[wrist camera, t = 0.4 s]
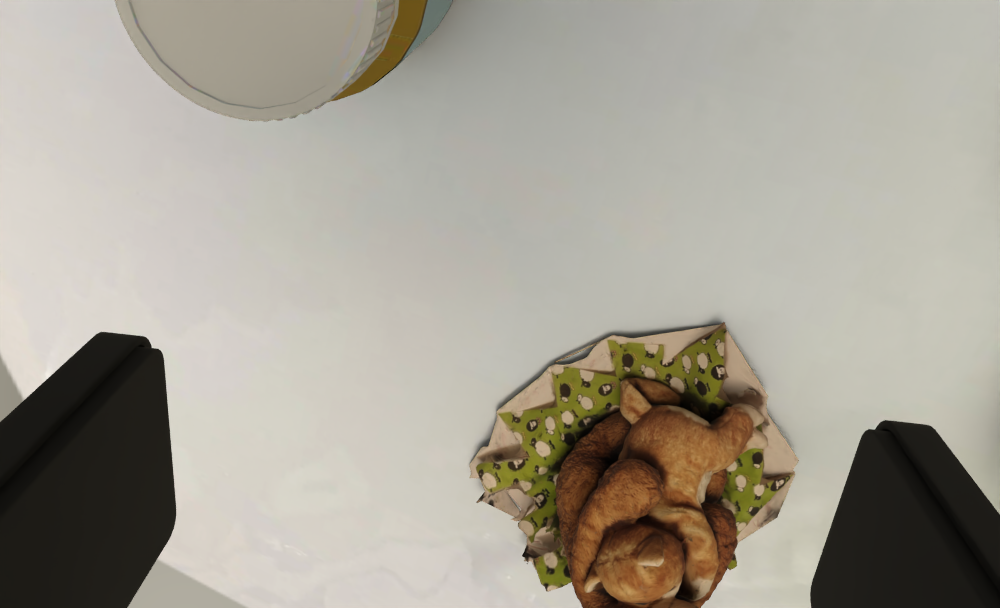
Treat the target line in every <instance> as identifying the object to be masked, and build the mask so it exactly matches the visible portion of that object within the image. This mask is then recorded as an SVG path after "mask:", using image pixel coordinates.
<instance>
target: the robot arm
mask: <svg viewBox="0 0 1000 608" xmlns="http://www.w3.org/2000/svg"><path fill="white" fill-rule="evenodd" d="M175 520H176V501H175V489H174V477H173V464H172V452H171V440H170V428H169V416H168V404H167V392H166V379H165V367H164V358H163V354H162V352H161V351H160V350H159V349H154V348H151V344H150V342H149V340H148V339H147V338H146V337H144V336H135V335H126V334H117V333H108V332H100V333H98V334H96V335H95V336H94V337H93V338H92V339H91V340H90V341H88V342H87V343H86V344H85V345H84V346H83V347H82V348H81V349H80V350H79V351H78V352H76V353H75V354H74V355H73V356H72V357H71V358H70V359H69V360H68V361H67V362H66V363H64V364H63V365H62V366H61V367H60V368H59V369H58V370H57V371H56V372H55V373H54V374H52V375H51V376H50V377H49V378H48V379H47V380H46V381H45V382H44V383H43V384H41V385H40V386H39V387H38V388H37V389H36V390H35V391H34V392H33V393H32V394H31V395H29V396H28V397H27V398H26V399H25V400H24V401H23V402H22V403H21V404H20V405H19V406H17V408H15V409H14V410H13V411H12V412H11V413H10V414H9V415H8V416H7V417H6V418H4V419H3V420H2V421H1V422H0V608H127V607H128V606H129V604H130V602H131V601H132V599H133V597H134V596H135V594H136V592H137V590H138V589H139V588H140V586H141V584H142V583H143V581H144V579H145V578H146V576H147V574H148V573H149V571H150V570H151V568H152V566H153V565H154V563H155V562H156V560H157V558H158V557H159V555H160V553H161V552H162V550H163V548H164V547H165V545H166V544H167V542H168V540H169V538H170V536H171V534H172V531H173V529H174V525H175ZM810 597H811V608H1000V514H999V513H998V512H997V510H996V509H995V508H994V507H993V505H992V504H991V503H990V501H989V500H988V499H987V497H986V496H985V495H984V493H983V492H982V491H981V489H980V488H979V487H978V486H977V484H976V483H975V482H974V480H973V479H972V478H971V476H970V475H969V474H968V472H967V471H966V470H965V468H964V467H963V466H962V464H961V463H960V462H959V461H958V459H957V458H956V457H955V455H954V454H953V453H952V451H951V450H950V449H949V447H948V446H947V445H946V443H945V442H944V441H943V439H942V438H941V437H940V436H939V434H938V433H937V432H936V430H935V429H934V428H932V427H931V426H929V425H923V424H914V423H906V422H897V421H888V420H885V421H882V422H881V423H880V424H879V425H878V426H877V427H876V429H875V430H871V429H869V430H866V431H865V432H864V434H863V435H862V437H861V440H860V442H859V445H858V448H857V451H856V454H855V457H854V460H853V463H852V466H851V469H850V472H849V475H848V478H847V481H846V484H845V487H844V490H843V493H842V495H841V498H840V501H839V504H838V507H837V510H836V513H835V516H834V519H833V522H832V525H831V528H830V531H829V534H828V537H827V540H826V543H825V546H824V549H823V552H822V555H821V557H820V560H819V563H818V566H817V569H816V572H815V575H814V578H813V581H812V585H811V593H810Z"/></svg>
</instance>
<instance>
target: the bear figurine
mask: <svg viewBox="0 0 1000 608" xmlns="http://www.w3.org/2000/svg"><path fill="white" fill-rule="evenodd" d="M598 343H599V344H598ZM596 344H598V345H596ZM594 345H596V346H595V347H594V348H593V350H592V351H591V352H590V354H589V355H588V356H587V358H584V359H582V360H579V361H577V362H574V363H572V364H566V365H561V364H560V365H557V364H554V365H552V366H549V367H548V369H547V370H546V371H545V372H544V373H543V374H542V375H541V376H540V377H539V378H538V379H537V380H535V381H534V382H533V383H531V384H530V385H529V386H528V387H526V388H525V389H524V390H523V391H521V392H520V393H519V394H518V395H516V396H515V397H514V398H513V399H511V400H510V401H509V402H508V403H506V404H505V405H504V406H502V407H501V408H500V409H499V410H498V411H497V413H496V414H497V420H496V423H495V427H494V430H493V433H492V436H491V439H490V442H489V445H488V446H487V447H482V448H481V449H480V450H479V452H478V453H477V455H476V456H475V458H474V459H473V461H472V462H471V463H470V465H469V466H470V469H471V476H470V477H469V478H480V480H481V482H482V485H483V487H484V489H485V492H484V493H483V495H482V496H481V497H480V498H479V500H478V501H477V503H478V502H480V501H483V502H485V503H487V504H489V505H492V506H494V507H496V508H498V509H500V510H502V511H504V512H506V513H508V514H510V515H512V516H514V517H515V518H513V519H511V520H514V521H520V520H521V521H520V522H519V523H518V527H519V528H520V529H521V530H522V531H523V532H524V533H525V534H526V535H527V545H526V549H525V551H524V553H523V555H522V556H523V557H525V560H524V561H527V562H529V561H532V563H533V566H534V568H535V569H536V570H537V573H538V576H539V579H540V582H541V584H542V585H543V586H544V587H545V588H546V591H547V592H549V591H551V590H553V589H557V588H560V587H563V586H565V585H567V584H568V583H571V582H572V584H573V586H574V589H575V593H576V595H577V598H578V599H579V600H580V602H581V604H582V607H583V608H701V606H702V605H703V604H704V603H705V601H707V600H709V598H710V597H711V595H712V593H713V591H714V590H715V589H716V587H717V584H718V583H719V582H720V581H721V580H722V577H723V575H724V573H725V571H726V570H727V568H728V569H729V570H731V569H733V568H735V567H736V566H737V561H736V557H735V553H734V552H735V549H736V547H737V544H738V542H740V541H741V540H743V539H744V538H746V537H747V536H749V535H751V534H752V533H754V532H755V531H757V530H758V529H760V528H761V527H763V526H764V525H766V524H768V523H769V522H771V521H772V520H774V519H775V518H777V516H778V514H779V512H780V509H781V507H782V504H783V502H784V500H785V497H786V495H787V493H788V490H789V488H790V485H791V483H792V481H793V478H794V476H795V472H794V471H793V469H794V467H795V466H796V464H797V463H798V461H799V460H798V458H797V457H796V455H795V454H794V452H793V451H792V449H791V448H790V446H789V445H788V443H787V442H786V440H785V438H784V437H783V436H782V434H781V433H780V432H779V430H778V428H777V427H776V425H775V424H774V422H773V421H772V419H771V418H770V416H769V415H768V413H767V408H766V405H767V398H768V395H767V394H766V392H765V390H764V389H763V387H762V386H761V384H760V382H759V381H758V379H757V377H756V376H755V374H754V373H753V371H752V369H751V368H750V366H749V365H748V363H747V361H746V360H745V358H744V357H743V355H742V353H741V352H740V350H739V349H738V347H737V345H736V344H735V342H734V341H733V339H732V337H731V336H730V334H729V333H728V331H727V329H726V325H725V322H723V323H722V324H720V325H714V326H708V327H702V328H696V329H689V330H683V331H676V332H670V333H664V334H657V335H651V336H645V337H638V338H627V337H622V336H617V335H612V336H610V337H608V338H605V339H603V340H601V341H599V342H597V343H594V344H592V345H590V346H588V347H586V348H584V349H581V350H579V351H577V352H575V353H573V354H570V355H568V356H566V357H564V358H562V359H559V360H557V361H555V363H557V362H559V361H561V360H563V359H565V358H568V357H570V356H572V355H574V354H576V353H578V352H581V351H583V350H585V349H587V348H589V347H591V346H594ZM506 492H507V493H508V494H509V495H510V496H511V498H512V499H513V500H514V501H515V502H516V503H517V505H518V506H519V507H520V508H521V511H519V510H518V508H517V507H516V505H515V504H514V503H513V501H512V500H511V498H510V497H509V495H508V494H507V493H506ZM526 515H527V516H526ZM527 564H528V563H527Z"/></svg>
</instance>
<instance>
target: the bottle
mask: <svg viewBox="0 0 1000 608" xmlns="http://www.w3.org/2000/svg"><path fill="white" fill-rule="evenodd" d="M452 1H453V0H115V3H116V6H117V9H118V12H119V15H120V17H121V20H122V22H123V24H124V27H125V29H126V31H127V33H128V35H129V36H130V38H131V40H132V42H133V43H134V45H135V47H136V48H137V50H138V51H139V53H140V54H141V55H142V57H143V58H144V59H145V61H146V62H147V63H148V64H149V66H150V67H151V68H152V69H153V70H154V71H155V72H156V73H157V74H158V75H159V76H160V77H161V78H162V79H163V80H164V81H165V82H166V83H167V84H168V85H169V86H171V87H172V88H173V89H174V90H176V91H177V92H178V93H180V94H181V95H183V96H184V97H186V98H187V99H189V100H190V101H192V102H194V103H196V104H198V105H200V106H201V107H204V108H206V109H208V110H210V111H213V112H216V113H218V114H221V115H225V116H228V117H232V118H237V119H243V120H249V121H269V120H277V121H279V120H283V119H284V118H288V117H289V118H295V117H296V116H298V115H299V114H301V113H302V114H307V113H309V112H310V111H312V110H313V109H314V108H315V109H318V108H320V107H321V106H323V105H324V104H325V103H326V102H330V101H335V100H338V99H341V98H344V97H347V96H350V95H353V94H356V93H358V92H361V91H363V90H365V89H367V88H369V87H370V86H372V85H374V84H375V83H377V82H378V81H379V80H380V79H382V78H383V77H384V76H385V75H387V74H388V73H389V72H390V71H392V70H393V69H394V68H395V67H396V66H397V65H399V64H400V63H401V62H402V61H403V60H404V59H405V58H406V57H407V56H408V55H409V54H410V53H411V52H412V51H413V50H414V49H415V48H417V47H418V46H419V45H420V44H421V43H422V42H423V41H424V40H425V39H426V38H427V37H428V36H429V35H430V34H431V33H432V32H433V31H434V30H435V29H436V28H437V27H438V25H439V23H440V22H441V20H442V19H443V17H444V16H445V14H446V13H447V11H448V9H449V7H450V5H451V3H452Z"/></svg>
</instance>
